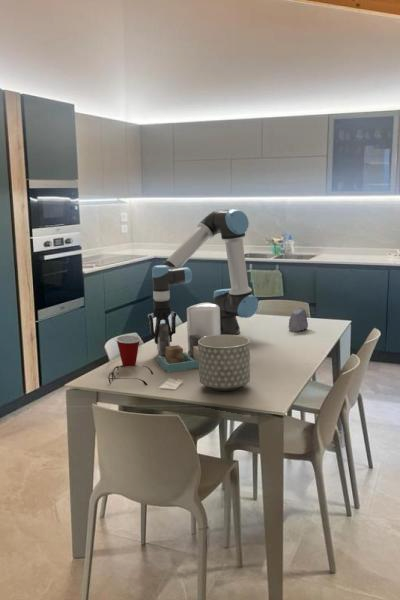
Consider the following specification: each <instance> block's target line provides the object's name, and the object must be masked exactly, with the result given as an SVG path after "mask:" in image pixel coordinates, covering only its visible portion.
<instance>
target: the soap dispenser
mask: <svg viewBox="0 0 400 600" xmlns="http://www.w3.org/2000/svg"><path fill="white" fill-rule="evenodd" d="M186 324H187V325H186V327H187V350H188V351H189V352H190V346H189V335H197V334H198V335H199V336H201V338H204V337H208V336H213V335H221V332H220V307H219V306H218V305H216V304H214V303H211V302H201V303H197V304H194V305H190V306H189V307H187V308H186Z"/></svg>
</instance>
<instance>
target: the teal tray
mask: <svg viewBox="0 0 400 600" xmlns="http://www.w3.org/2000/svg"><path fill="white" fill-rule="evenodd" d="M157 363H158V364H159V366H161V367H162V368H163V369H164V370H165V371H166V372H168V373H171V372H178V371H185V370H186V371H187V370H193V369H199V360H194V359H193V358H191V357H190V354H189V355H188V354H187V353H186V352H184V351H183V362H180V363H173V364H169V363H168V362H167V361H166V358H164V357H162V355H157Z"/></svg>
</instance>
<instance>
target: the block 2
mask: <svg viewBox="0 0 400 600" xmlns="http://www.w3.org/2000/svg"><path fill="white" fill-rule="evenodd" d="M200 339H201V336H199V335H198V334H197V335H189V346H190V351H189V356H190V357H191V358H193V359H194V360H199V353H198V341H199V340H200Z"/></svg>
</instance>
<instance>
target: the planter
mask: <svg viewBox="0 0 400 600" xmlns="http://www.w3.org/2000/svg"><path fill="white" fill-rule="evenodd" d="M250 342H251V341H250V339H249V338H248V337H245V336H241V335H238V334H235V335H213V336H208V337H204V338H201V339H200V340H199V341H198V353H199V368H198V377H199V378H198V381H199V383H200V384H201V385H203V386H205V387H208V388H210V389H212V390H215V391H219V392H228V391H235V390H236V389H237V390H238V389H239V388H240V387H243V386H245V385H247V384H248V383H250V381H251V363H250V361H251V355H250V354H251V351H250V348H251V347H250V346H251V345H250Z"/></svg>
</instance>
